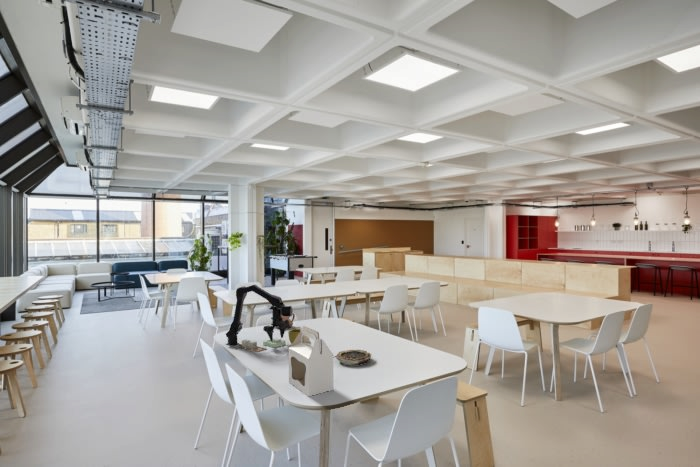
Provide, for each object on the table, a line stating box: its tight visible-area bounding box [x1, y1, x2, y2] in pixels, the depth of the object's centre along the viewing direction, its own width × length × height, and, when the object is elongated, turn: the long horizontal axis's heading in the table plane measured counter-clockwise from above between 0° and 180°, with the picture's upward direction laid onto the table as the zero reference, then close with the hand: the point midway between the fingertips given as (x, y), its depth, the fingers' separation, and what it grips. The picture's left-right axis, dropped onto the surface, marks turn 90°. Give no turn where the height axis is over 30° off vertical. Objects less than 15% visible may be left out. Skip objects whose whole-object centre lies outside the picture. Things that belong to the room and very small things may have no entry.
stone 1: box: [241, 338, 251, 348], centre depth 260 cm, size 4×4×4 cm
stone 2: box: [273, 337, 282, 343], centre depth 262 cm, size 4×4×4 cm
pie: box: [333, 349, 373, 367], centre depth 230 cm, size 28×27×5 cm
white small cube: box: [248, 340, 258, 349], centre depth 256 cm, size 4×4×4 cm
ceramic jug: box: [278, 312, 295, 329], centre depth 317 cm, size 18×14×14 cm
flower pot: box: [288, 328, 301, 345], centre depth 268 cm, size 9×9×9 cm
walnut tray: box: [237, 344, 268, 353], centre depth 256 cm, size 20×8×1 cm, turn 53°
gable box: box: [288, 325, 334, 397], centre depth 191 cm, size 22×13×28 cm, turn 34°
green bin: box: [262, 337, 286, 349], centre depth 264 cm, size 12×10×3 cm
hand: (276, 339), depth 263 cm, fingers open, 9 cm apart
